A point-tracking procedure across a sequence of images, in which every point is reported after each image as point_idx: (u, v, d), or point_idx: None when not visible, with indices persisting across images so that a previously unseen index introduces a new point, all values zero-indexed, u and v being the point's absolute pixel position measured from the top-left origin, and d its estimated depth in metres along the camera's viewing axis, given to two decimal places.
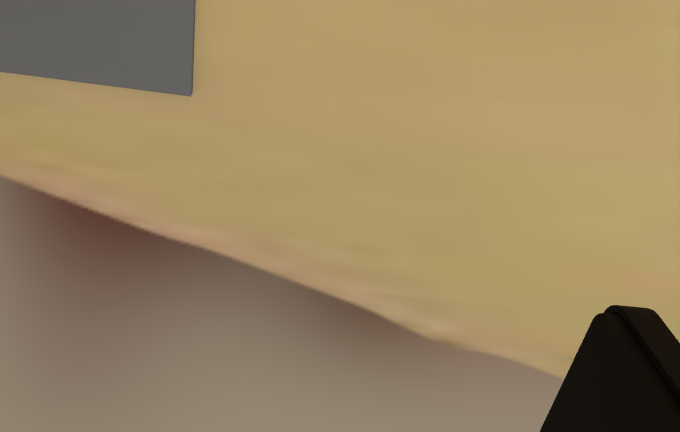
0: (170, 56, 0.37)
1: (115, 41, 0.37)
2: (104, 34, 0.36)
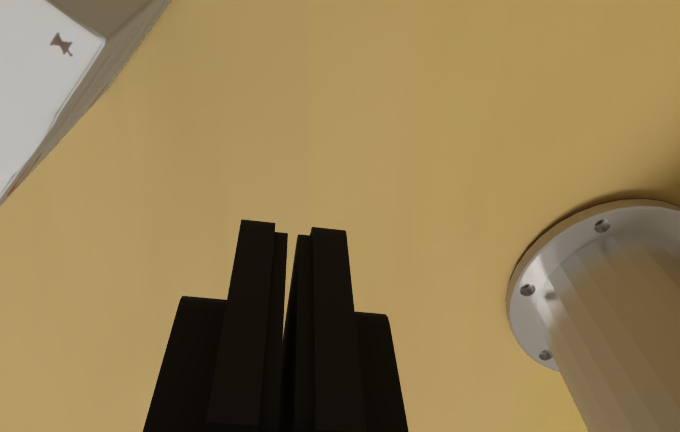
0: None
1: None
2: None
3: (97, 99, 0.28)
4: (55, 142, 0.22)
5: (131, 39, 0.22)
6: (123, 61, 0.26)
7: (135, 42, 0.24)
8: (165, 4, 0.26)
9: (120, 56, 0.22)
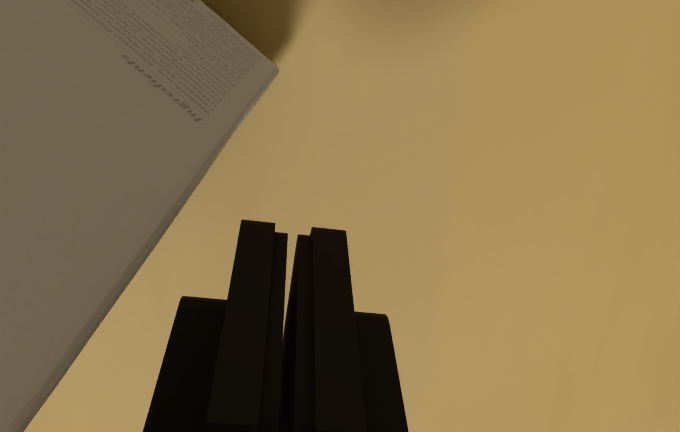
0: None
1: None
2: None
3: None
4: None
5: None
6: None
7: None
8: None
9: None
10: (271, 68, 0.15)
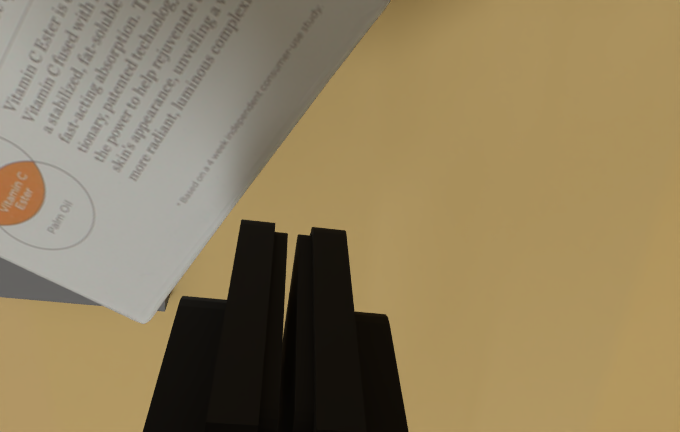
0: None
1: None
2: None
3: (75, 270, 0.11)
4: None
5: None
6: (61, 101, 0.10)
7: (51, 4, 0.09)
8: (226, 13, 0.09)
9: None
10: None
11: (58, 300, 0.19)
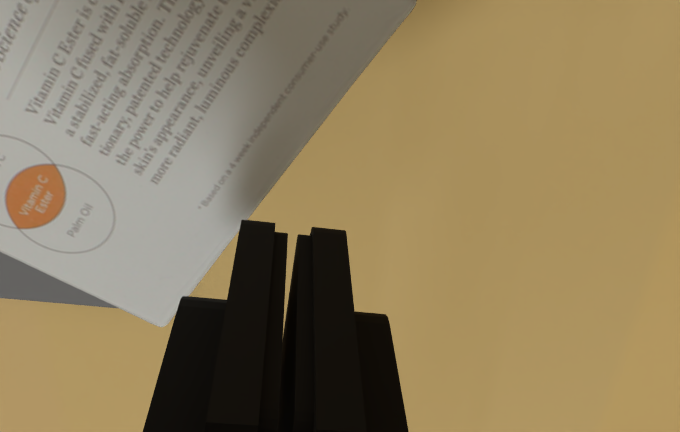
0: None
1: None
2: None
3: (94, 274, 0.11)
4: None
5: None
6: (84, 104, 0.09)
7: (75, 7, 0.09)
8: (252, 16, 0.09)
9: None
10: None
11: (68, 302, 0.19)
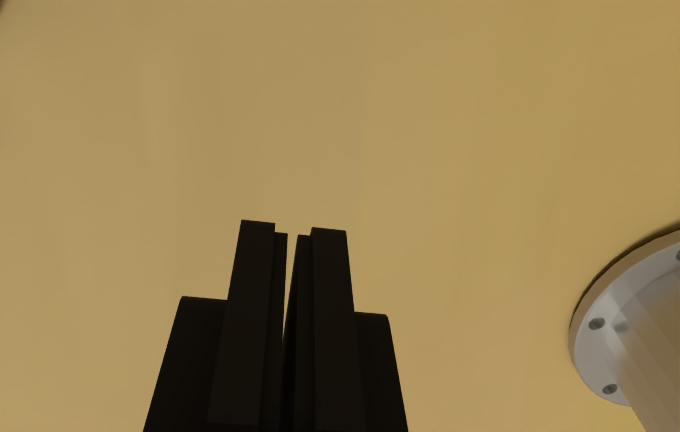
0: None
1: None
2: None
3: None
4: None
5: None
6: None
7: None
8: None
9: None
10: None
11: None
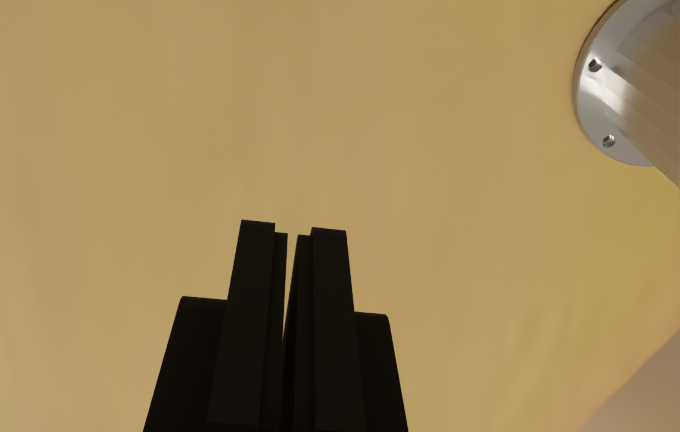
0: None
1: None
2: None
3: None
4: None
5: None
6: None
7: None
8: None
9: None
10: None
11: None
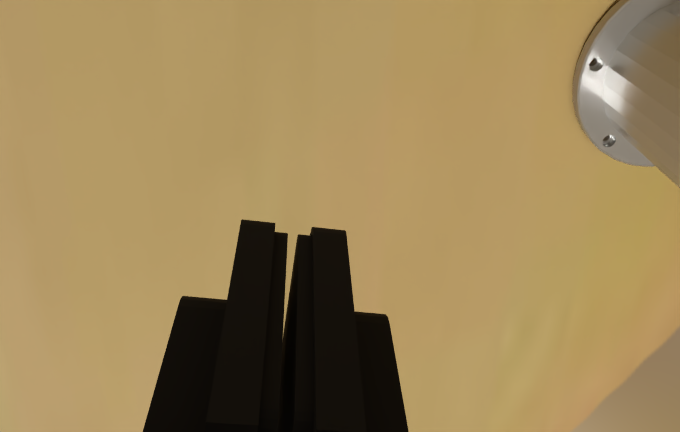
0: None
1: None
2: None
3: None
4: None
5: None
6: None
7: None
8: None
9: None
10: None
11: None
